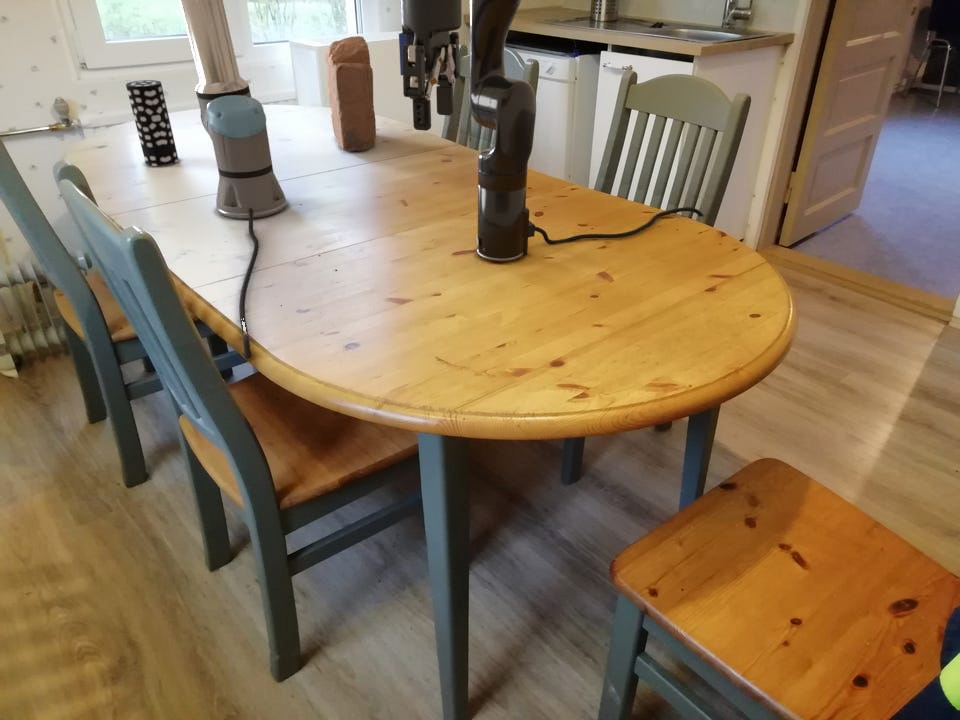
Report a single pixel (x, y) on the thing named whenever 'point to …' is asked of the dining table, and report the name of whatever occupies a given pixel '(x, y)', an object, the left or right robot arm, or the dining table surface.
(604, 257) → the dining table surface
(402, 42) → the block
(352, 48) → the stone
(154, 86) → the black white spotted cylinder
